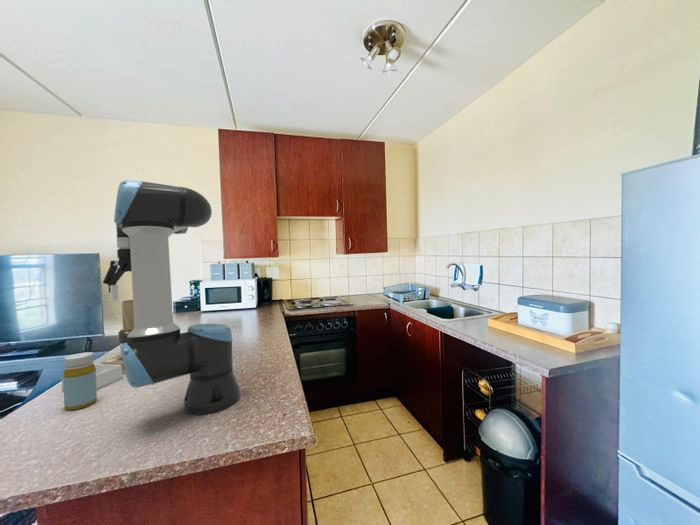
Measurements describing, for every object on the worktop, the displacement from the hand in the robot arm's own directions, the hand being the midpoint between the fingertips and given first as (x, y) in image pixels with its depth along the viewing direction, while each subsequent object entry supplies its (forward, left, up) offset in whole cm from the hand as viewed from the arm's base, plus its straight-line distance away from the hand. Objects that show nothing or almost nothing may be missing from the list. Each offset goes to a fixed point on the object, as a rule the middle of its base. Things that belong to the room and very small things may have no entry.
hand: (131, 300), depth 113 cm
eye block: (-1, +1, -27) cm, 27 cm away
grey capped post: (-1, +1, -27) cm, 27 cm away
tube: (+13, +12, -27) cm, 32 cm away
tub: (-16, -1, -27) cm, 31 cm away
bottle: (-28, -12, -27) cm, 41 cm away
